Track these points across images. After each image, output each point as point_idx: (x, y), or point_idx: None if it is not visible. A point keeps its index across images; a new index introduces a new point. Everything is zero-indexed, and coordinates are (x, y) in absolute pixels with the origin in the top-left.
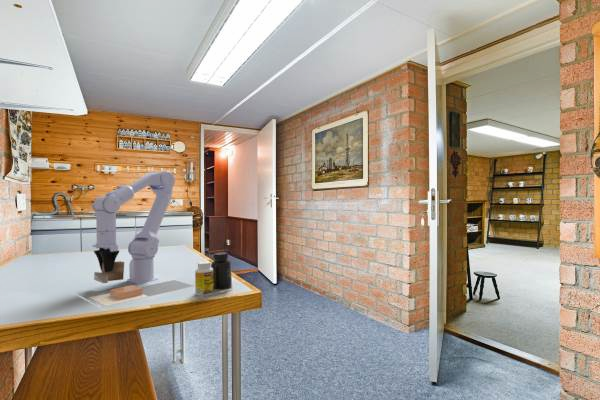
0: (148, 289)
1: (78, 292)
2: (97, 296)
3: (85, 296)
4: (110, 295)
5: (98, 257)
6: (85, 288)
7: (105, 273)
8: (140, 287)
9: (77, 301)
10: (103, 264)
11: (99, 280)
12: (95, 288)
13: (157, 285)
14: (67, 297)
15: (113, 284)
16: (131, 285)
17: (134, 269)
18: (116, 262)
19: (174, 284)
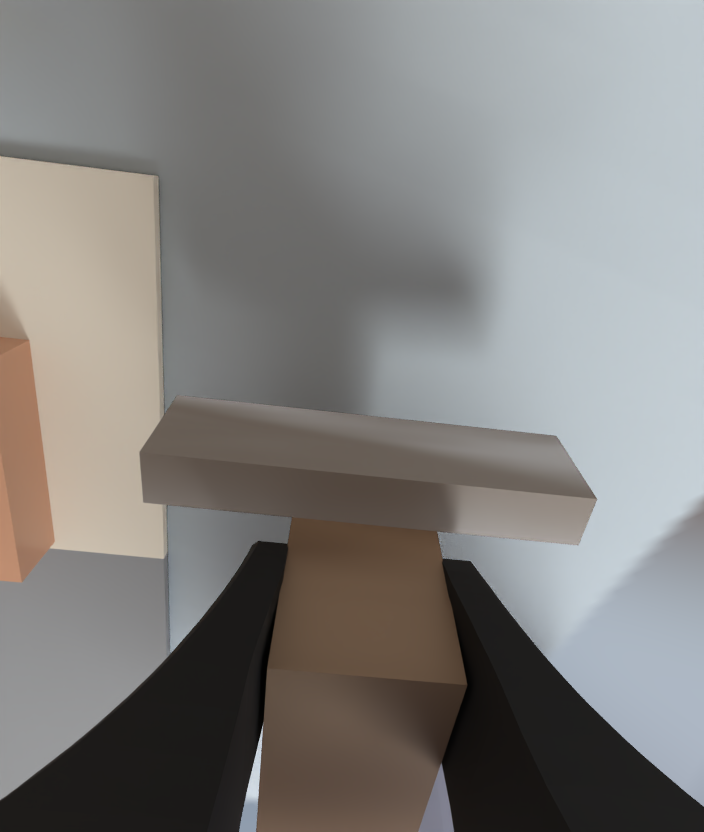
0: (4, 626)
1: (590, 238)
2: (118, 251)
3: (313, 199)
4: (14, 340)
5: (539, 765)
6: (693, 367)
7: (292, 531)
8: (141, 628)
9: (145, 25)
10: (259, 624)
11: (337, 420)
12: (576, 423)
13: (91, 717)
14: (474, 38)
15: (554, 581)
16: (13, 566)
17: (425, 825)
18: (299, 807)
19: (15, 781)
